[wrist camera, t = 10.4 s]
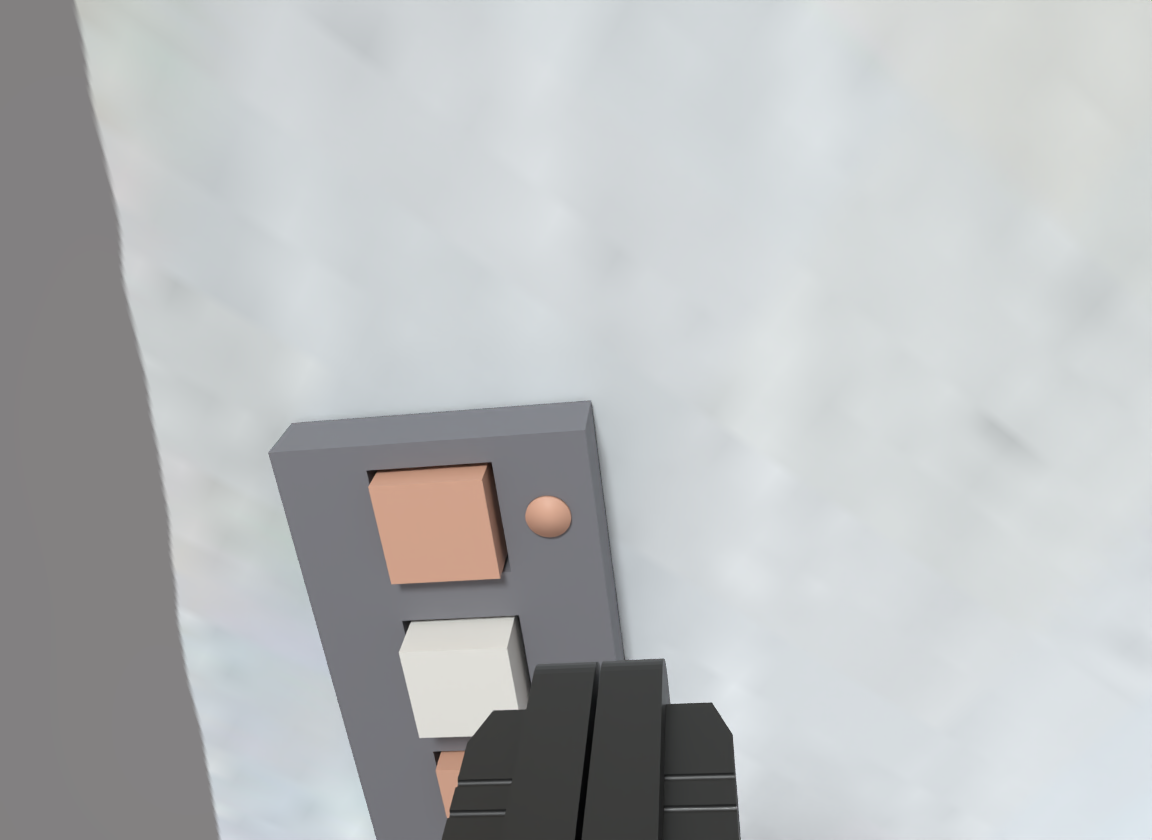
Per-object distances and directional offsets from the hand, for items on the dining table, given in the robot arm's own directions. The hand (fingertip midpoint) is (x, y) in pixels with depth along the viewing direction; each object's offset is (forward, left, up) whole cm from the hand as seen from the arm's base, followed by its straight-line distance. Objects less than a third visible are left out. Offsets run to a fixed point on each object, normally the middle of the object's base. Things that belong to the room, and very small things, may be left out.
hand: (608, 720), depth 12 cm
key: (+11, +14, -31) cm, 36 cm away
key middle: (+11, +22, -30) cm, 39 cm away
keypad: (+11, +22, -32) cm, 40 cm away
